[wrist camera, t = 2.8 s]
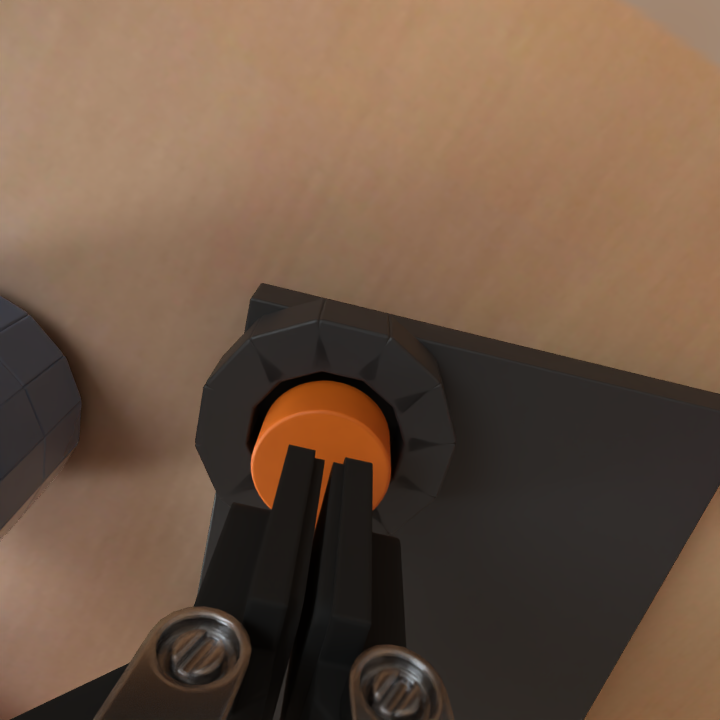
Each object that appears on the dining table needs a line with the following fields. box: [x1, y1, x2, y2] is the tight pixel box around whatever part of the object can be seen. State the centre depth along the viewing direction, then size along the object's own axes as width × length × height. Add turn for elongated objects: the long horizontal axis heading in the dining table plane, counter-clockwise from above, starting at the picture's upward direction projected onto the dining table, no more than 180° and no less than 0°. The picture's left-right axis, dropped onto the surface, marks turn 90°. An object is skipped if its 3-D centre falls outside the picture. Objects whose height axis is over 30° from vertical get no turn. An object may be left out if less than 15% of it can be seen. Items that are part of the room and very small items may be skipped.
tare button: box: [251, 380, 391, 528], centre depth 13 cm, size 3×3×2 cm
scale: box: [195, 283, 720, 720], centre depth 17 cm, size 16×14×3 cm
